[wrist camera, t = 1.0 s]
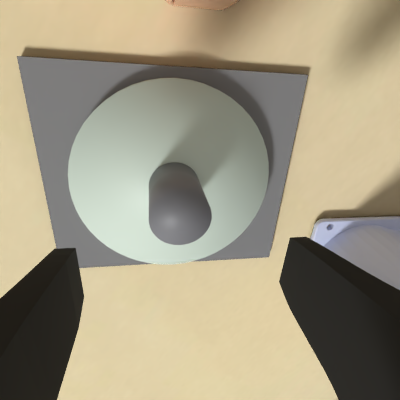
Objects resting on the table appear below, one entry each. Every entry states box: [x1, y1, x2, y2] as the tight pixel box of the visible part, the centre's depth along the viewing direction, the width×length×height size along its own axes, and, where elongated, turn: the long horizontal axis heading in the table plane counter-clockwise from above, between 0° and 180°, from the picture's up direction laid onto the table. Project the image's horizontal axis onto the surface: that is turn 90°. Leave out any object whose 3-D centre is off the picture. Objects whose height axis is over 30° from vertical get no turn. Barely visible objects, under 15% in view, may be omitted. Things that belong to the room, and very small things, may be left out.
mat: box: [17, 56, 308, 268], centre depth 16 cm, size 14×12×1 cm
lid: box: [68, 78, 269, 264], centre depth 14 cm, size 11×11×4 cm
